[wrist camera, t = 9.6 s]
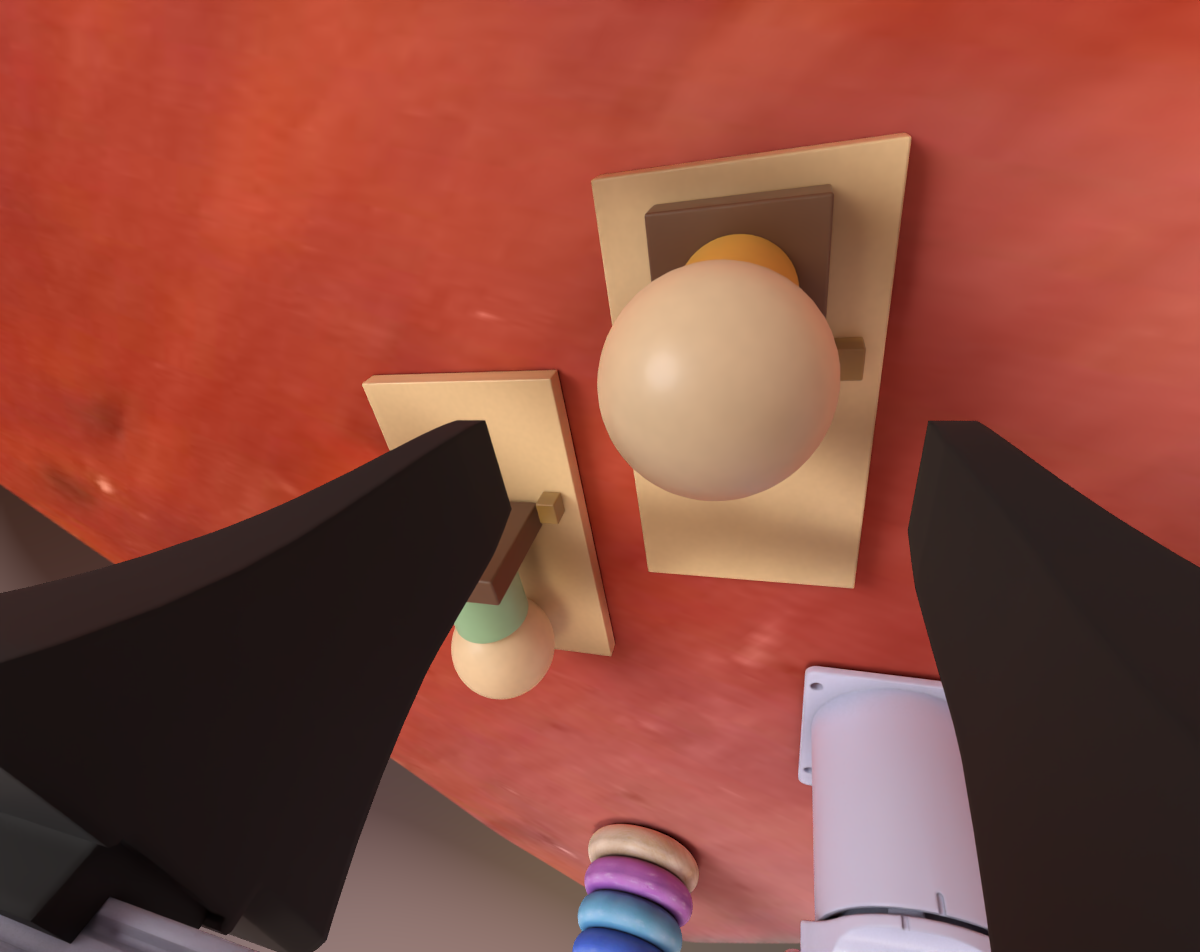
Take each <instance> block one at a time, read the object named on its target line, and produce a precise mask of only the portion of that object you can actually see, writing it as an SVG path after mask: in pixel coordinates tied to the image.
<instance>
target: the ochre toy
mask: <svg viewBox="0 0 1200 952" xmlns="http://www.w3.org/2000/svg"><path fill="white" fill-rule="evenodd" d="M833 208H834V192H833V188H832V185H830V184H825V185H816V186H808V187H799V188H791V189H782V190H774V191H766V192H757V193H749V194H740V195H732V196H723V197H715V198H707V199H698V200H690V201H681V202H673V203H664V204H656V205H653V206H652V207H651V208H650V209H649V210H648V211H647V213H646V214H645V216H644V218H645V228H646V237H647V247H648V257H649V266H650V276H651V283H650V284H648V285H647V286H646V287H645V288H643V289H642V290H641V291H640V292H638V293H637V294H636V295H635V296H634V297H633V298H632V300H631V301H630V302H629V303H628V304H627V305H626V306H625V307H624V308H623V310H622V311H621V313H620V314H619V316H618V317H617V319H616V320H615V322H614V324H613V326H612V328H611V330H610V332H609V334H608V336H607V338H606V341H605V344H604V346H603V349H602V353H601V358H600V363H599V369H598V381H597V389H598V399H599V407H600V411H601V415H602V419H603V422H604V424H605V427H606V429H607V431H608V434H609V436H610V439H611V440H612V442H613V444H614V445H615V447H616V449H617V450H618V452H619V453H620V454H621V456H622V457H623V458H624V459H625V460H626V462H627V463H628V464H629V465H630V466H631V467H632V468H633V469H634V470H635V471H636V472H638V473H639V474H640V475H641V476H642V477H644V478H645V479H646V480H648V481H649V482H651V483H652V484H654V485H656V486H658V487H660V488H661V489H663V490H665V491H667V492H670V493H673V494H676V495H679V496H682V497H686V498H690V499H695V500H702V501H729V500H735V499H741V498H745V497H749V496H752V495H755V494H757V493H760V492H763V491H765V490H767V489H770V488H772V487H774V486H775V485H777V484H779V483H780V482H782V481H783V480H785V479H787V478H788V477H789V476H791V475H792V474H793V473H795V472H796V471H797V470H798V469H799V468H800V467H801V466H802V465H803V464H804V463H805V462H806V461H807V460H808V459H809V458H810V457H811V456H812V455H813V453H814V452H815V450H816V449H817V448H818V446H819V445H820V443H821V442H822V440H823V439H824V437H825V435H826V433H827V431H828V429H829V427H830V425H831V422H832V419H833V416H834V413H835V410H836V407H837V404H838V398H839V392H840V361H839V355H838V350H837V347H836V344H835V340H834V337H833V334H832V331H831V329H830V327H829V325H828V323H827V321H826V314H827V299H828V284H829V268H830V253H831V238H832V223H833Z"/></svg>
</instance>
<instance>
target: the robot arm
mask: <svg viewBox="0 0 1200 952" xmlns="http://www.w3.org/2000/svg"><path fill="white" fill-rule="evenodd" d="M511 510H512V508H511V505H510V501H509V498H508V495H507V491H506V488H505V485H504V481H503V478H502V474H501V471H500V468H499V464H498V461H497V458H496V454H495V451H494V448H493V444H492V441H491V438H490V434H489V431H488V427H487V424H486V421H485V420H456V421H453V422H450V423H447V424H444V425H442V426H440V427H437V428H435V429H433V430H431V431H429V432H427V433H424V434H422V435H420V436H418V437H416V438H414V439H412V440H410V441H408V442H406V443H404V444H403V445H401V446H399V447H397V448H395V449H393V450H391V451H389V452H387V453H385V454H383V455H381V456H379V457H378V458H376V459H374V460H372V461H370V462H368V463H366V464H364V465H362V466H360V467H358V468H356V469H354V470H353V471H351V472H349V473H347V474H344V475H342V476H340V477H338V478H336V479H334V480H332V481H330V482H328V483H326V484H324V485H322V486H320V487H318V488H316V489H314V490H312V491H310V492H308V493H306V494H304V495H301V496H299V497H297V498H295V499H293V500H291V501H289V502H286V503H284V504H282V505H280V506H277V507H275V508H273V509H270V510H268V511H266V512H264V513H261V514H259V515H256V516H254V517H251V518H249V519H246V520H244V521H241V522H239V523H236V524H234V525H231V526H229V527H226V528H223V529H221V530H218V531H215V532H213V533H210V534H207V535H204V536H201V537H198V538H195V539H192V540H189V541H186V542H183V543H180V544H177V545H174V546H172V547H169V548H166V549H163V550H160V551H157V552H154V553H151V554H148V555H145V556H142V557H138V558H135V559H132V560H128V561H125V562H121V563H118V564H114V565H111V566H108V567H104V568H101V569H97V570H93V571H90V572H86V573H83V574H78V575H75V576H71V577H67V578H63V579H60V580H56V581H52V582H48V583H43V584H39V585H35V586H32V587H27V588H22V589H18V590H13V591H8V592H4V593H0V952H258V951H255V950H253V949H250V948H247V947H245V946H242V945H239V944H236V943H234V942H231V941H228V940H226V939H223V938H220V937H217V936H215V935H212V934H209V933H207V932H204V931H201V930H199V928H200V927H201V926H202V927H204V928H207V929H210V930H213V931H215V932H218V933H221V934H224V935H227V934H230V935H233V936H236V937H238V938H241V939H244V940H246V941H249V942H252V943H255V944H257V945H260V946H263V947H266V948H268V949H271V950H274V951H277V952H313V951H315V950H317V949H318V948H319V947H320V946H321V945H322V944H323V943H324V942H325V941H326V940H327V937H328V933H329V930H330V926H331V923H332V920H333V917H334V913H335V910H336V907H337V904H338V901H339V898H340V895H341V892H342V889H343V885H344V882H345V879H346V876H347V873H348V870H349V867H350V864H351V861H352V858H353V855H354V852H355V848H356V845H357V843H358V840H359V837H360V834H361V831H362V829H363V826H364V823H365V821H366V818H367V815H368V813H369V810H370V807H371V804H372V802H373V799H374V796H375V794H376V791H377V788H378V785H379V783H380V780H381V777H382V775H383V772H384V770H385V767H386V765H387V763H388V760H389V758H390V755H391V753H392V751H393V748H394V746H395V743H396V741H397V738H398V736H399V733H400V731H401V729H402V726H403V724H404V721H405V719H406V717H407V715H408V713H409V710H410V708H411V706H412V704H413V701H414V699H415V697H416V695H417V693H418V690H419V688H420V686H421V684H422V681H423V679H424V677H425V675H426V673H427V671H428V669H429V667H430V665H431V663H432V661H433V660H434V658H435V656H436V654H437V652H438V650H439V648H440V647H441V645H442V643H443V642H444V640H445V638H446V637H447V635H448V633H449V631H450V630H451V628H452V626H453V625H454V623H455V621H456V619H457V618H458V616H459V614H460V613H461V611H462V609H463V608H464V606H465V604H466V602H467V601H468V599H469V597H470V596H471V594H472V592H473V590H474V589H475V587H476V585H477V583H478V582H479V580H480V578H481V576H482V575H483V573H484V571H485V569H486V568H487V566H488V564H489V562H490V561H491V559H492V557H493V555H494V553H495V551H496V548H497V546H498V544H499V541H500V539H501V536H502V534H503V531H504V529H505V526H506V523H507V520H508V518H509V515H510V512H511ZM908 536H909V545H910V553H911V562H912V569H913V576H914V583H915V589H916V593H917V597H918V600H919V604H920V608H921V611H922V615H923V619H924V622H925V626H926V629H927V633H928V637H929V640H930V644H931V647H932V651H933V654H934V658H935V661H936V665H937V668H938V672H939V675H940V679H941V681H938V680H929V679H921V678H913V677H905V676H896V675H888V674H880V673H872V672H863V671H855V670H847V669H839V668H830V667H822V666H811V667H809V668H807V669H806V671H805V682H804V696H803V711H802V725H801V740H800V754H799V768H798V779H799V780H800V781H801V782H802V783H804V784H806V785H811V786H812V797H813V847H814V897H815V921H808V920H802V921H801V950H798V949H788V950H786V951H785V952H1200V567H1198V566H1196V565H1195V564H1193V563H1191V562H1189V561H1188V560H1186V559H1184V558H1182V557H1181V556H1179V555H1177V554H1175V553H1174V552H1172V551H1170V550H1169V549H1167V548H1166V547H1164V546H1162V545H1161V544H1159V543H1157V542H1156V541H1154V540H1153V539H1151V538H1149V537H1148V536H1146V535H1144V534H1143V533H1141V532H1140V531H1138V530H1136V529H1135V528H1133V527H1131V526H1130V525H1128V524H1126V523H1125V522H1123V521H1122V520H1120V519H1119V518H1117V517H1115V516H1114V515H1112V514H1111V513H1109V512H1108V511H1106V510H1105V509H1103V508H1102V507H1100V506H1099V505H1097V504H1096V503H1094V502H1093V501H1091V500H1090V499H1088V498H1087V497H1085V496H1084V495H1082V494H1081V493H1079V492H1078V491H1076V490H1075V489H1074V488H1072V487H1071V486H1069V485H1068V484H1066V483H1065V482H1063V481H1062V480H1061V479H1059V478H1058V477H1056V476H1055V475H1054V474H1052V473H1051V472H1049V471H1048V470H1046V469H1045V468H1044V467H1042V466H1041V465H1039V464H1038V463H1037V462H1035V461H1034V460H1033V459H1031V458H1030V457H1028V456H1027V455H1026V454H1024V453H1023V452H1022V451H1020V450H1019V449H1017V448H1016V447H1015V446H1013V445H1012V444H1010V443H1009V442H1008V441H1006V440H1005V439H1004V438H1002V437H1001V436H999V435H998V434H996V433H995V432H994V431H992V430H991V429H989V428H988V427H986V426H985V425H983V424H981V423H980V422H978V421H928V426H927V431H926V436H925V442H924V447H923V452H922V458H921V463H920V468H919V473H918V479H917V484H916V489H915V495H914V500H913V505H912V511H911V516H910V521H909V527H908Z"/></svg>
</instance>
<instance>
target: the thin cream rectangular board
mask: <svg viewBox="0 0 1200 952" xmlns="http://www.w3.org/2000/svg"><path fill="white" fill-rule="evenodd" d="M362 386H363V388H364V390H365V393H366V395H367V398H368V400H369V402H370V405H371V407H372V409H373V412H374V414H375V417H376V419H377V421H378V424H379V426H380V428H381V431H382V433H383V436H384V438H385V440H386V443H387V445H388V447H389V450H390V451H391V450H393V449H395V448H397V447H399V446H401V445H403V444H404V443H406V442H408V441H410V440H412V439H414V438H416V437H418V436H420V435H422V434H424V433H427V432H429V431H431V430H433V429H435V428H437V427H440V426H442V425H444V424H447V423H450V422H453V421H456V420H485V421H486V424H487V427H488V431H489V434H490V438H491V441H492V444H493V448H494V451H495V454H496V458H497V461H498V464H499V468H500V471H501V474H502V478H503V481H504V485H505V488H506V491H507V495H508V498H509V501H510V502H531V503H536V508H537V512H538V516H539V519H540V523H542V527H541V529H540V530H539V532H538V534H537V536H536V538H535V540H534V542H533V543H532V545H531V547H530V549H529V551H528V553H527V555H526V556H525V558H524V560H523V562H522V564H521V566H520V568H519V569H518V573H519V576H520V579H521V582H522V585H523V588H524V592H525V595H526V598H528V599H530V600H532V601H533V602H535V603H536V604H537V605H538V606H539V607H540V608H541V609H542V610H543V611H544V612H545V614H546V615H547V617H548V619H549V620H550V623H551V625H552V628H553V632H554V638H555V649H559V650H566V651H574V652H582V653H589V654H597V655H605V656H612V653H613V649H614V646H615V641H614V636H613V631H612V627H611V622H610V617H609V612H608V608H607V603H606V598H605V594H604V589H603V584H602V579H601V575H600V570H599V565H598V560H597V556H596V551H595V546H594V541H593V537H592V532H591V527H590V523H589V518H588V513H587V508H586V504H585V499H584V494H583V489H582V485H581V480H580V475H579V470H578V466H577V461H576V456H575V452H574V447H573V442H572V437H571V433H570V428H569V423H568V418H567V414H566V409H565V404H564V399H563V395H562V390H561V385H560V381H559V376H558V371H557V370H535V371H502V372H469V373H436V374H404V375H373V376H372V377H370V378H369V379H368V380H366V381H365V382H364V383H362Z"/></svg>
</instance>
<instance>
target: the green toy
mask: <svg viewBox="0 0 1200 952" xmlns="http://www.w3.org/2000/svg"><path fill="white" fill-rule="evenodd" d="M510 505H511V508H512V510H511V512H510V515H509V518H508V520H507V523H506V526H505V529H504V531H503V534H502V536H501V539H500V541H499V544H498V546H497V548H496V551H495V553H494V555H493V557H492V559H491V561H490V562H489V564H488V566H487V568H486V569H485V571H484V573H483V575H482V576H481V578H480V580H479V582H478V583H477V585H476V587H475V589H474V590H473V592H472V594H471V596H470V597H469V599H468V601H467V602H466V604H465V606H464V608H463V609H462V611H461V613H460V614H459V616H458V618H457V619H456V621H455V623H454V625H455V627H456V628H455V630H454V633H453V638H452V645H451V653H452V660H453V664H454V667H455V669H456V671H457V673H458V675H459V677H460V678H461V680H462V681H463V682H464V683H465V684H466V685H467V686H468V687H469V688H470V689H471V690H473V691H474V692H476V693H478V694H480V695H482V696H484V697H488V698H492V699H509V698H514V697H517V696H520V695H522V694H524V693H526V692H528V691H529V690H531V689H532V688H533V687H535V686H536V685H537V684H538V683H539V682H540V681H541V680H542V678H543V677H544V676H545V674H546V673H547V671H548V669H549V667H550V665H551V662H552V659H553V655H554V649H555V638H554V632H553V628H552V625H551V623H550V620H549V619H548V617H547V615H546V614H545V612H544V611H543V610H542V609H541V608H540V607H539V606H538V605H537V604H536V603H535V602H533V601H532V600H530V599H528V598H526V595H525V592H524V588H523V585H522V582H521V579H520V576H519V573H518V569H519V568H520V566H521V564H522V562H523V560H524V558H525V556H526V555H527V553H528V551H529V549H530V547H531V545H532V543H533V542H534V540H535V538H536V536H537V534H538V532H539V530H540V529H541V527H542V523H540V519H539V516H538V512H537V508H536V503H531V502H510Z"/></svg>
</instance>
